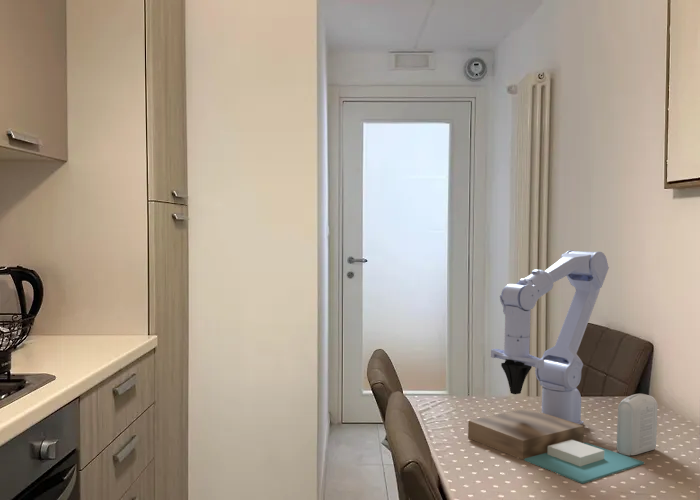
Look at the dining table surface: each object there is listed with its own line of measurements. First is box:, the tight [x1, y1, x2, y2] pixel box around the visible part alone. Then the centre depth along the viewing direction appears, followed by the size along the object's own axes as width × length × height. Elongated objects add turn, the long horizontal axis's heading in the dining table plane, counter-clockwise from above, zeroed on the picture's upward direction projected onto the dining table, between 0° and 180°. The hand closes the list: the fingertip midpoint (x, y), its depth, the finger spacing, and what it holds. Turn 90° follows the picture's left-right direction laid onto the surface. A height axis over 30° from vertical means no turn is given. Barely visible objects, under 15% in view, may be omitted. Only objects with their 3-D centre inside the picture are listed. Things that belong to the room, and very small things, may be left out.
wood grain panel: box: [467, 407, 585, 460], centre depth 144 cm, size 20×16×4 cm
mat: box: [524, 442, 645, 484], centre depth 131 cm, size 20×14×1 cm
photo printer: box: [616, 393, 659, 457], centre depth 138 cm, size 10×4×12 cm, turn 123°
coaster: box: [547, 440, 604, 466], centre depth 133 cm, size 8×8×2 cm
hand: (515, 393), depth 149 cm, fingers closed
